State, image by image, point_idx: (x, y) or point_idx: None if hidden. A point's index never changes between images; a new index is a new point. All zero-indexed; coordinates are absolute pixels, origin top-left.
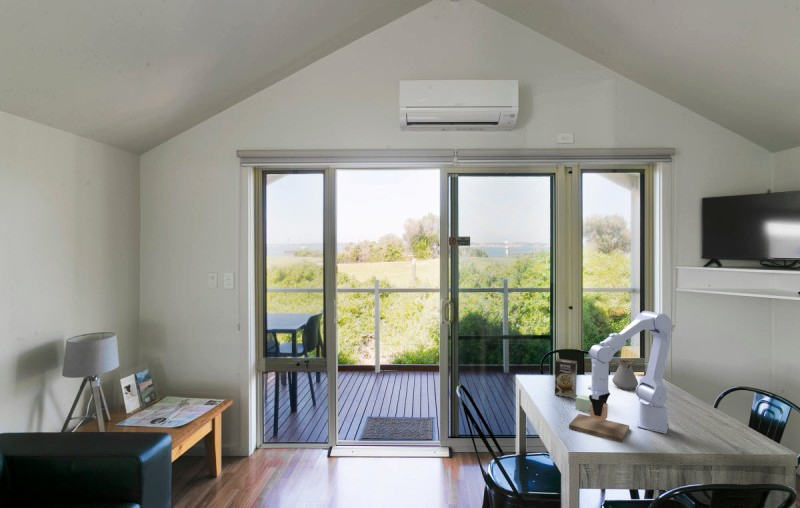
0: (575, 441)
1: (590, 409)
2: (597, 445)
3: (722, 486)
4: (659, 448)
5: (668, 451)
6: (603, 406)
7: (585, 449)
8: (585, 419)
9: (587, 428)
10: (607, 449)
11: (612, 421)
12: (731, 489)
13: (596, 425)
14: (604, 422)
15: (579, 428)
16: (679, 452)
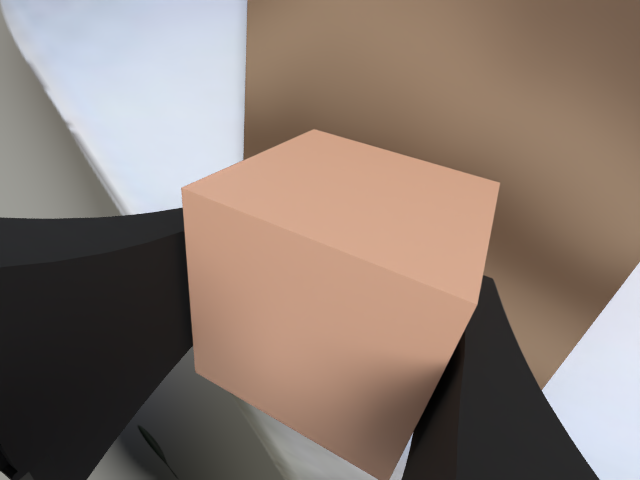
0: (95, 3)
1: (247, 162)
2: (140, 150)
3: (149, 436)
4: None
5: (277, 439)
6: (219, 370)
7: (59, 81)
8: (538, 50)
9: (261, 88)
10: (135, 198)
11: (570, 351)
12: (149, 444)
13: None
14: (504, 268)
15: (254, 4)
16: (291, 469)
